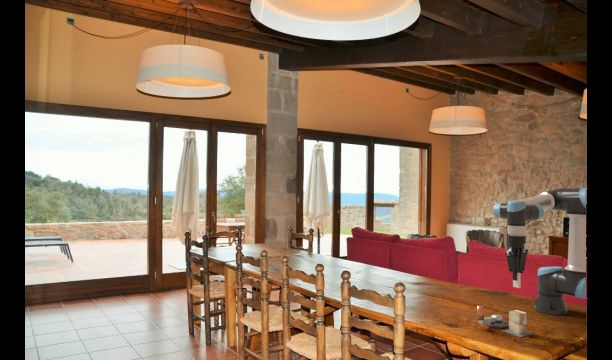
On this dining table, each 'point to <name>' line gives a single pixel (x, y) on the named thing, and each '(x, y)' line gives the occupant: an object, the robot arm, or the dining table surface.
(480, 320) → the crank
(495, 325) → the crank base
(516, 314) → the block
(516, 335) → the pad
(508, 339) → the dining table surface
